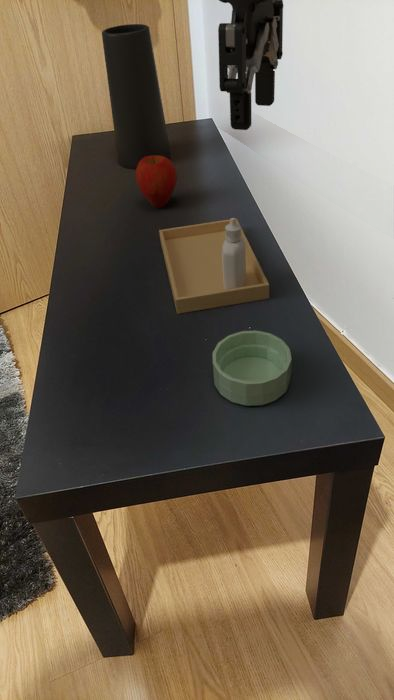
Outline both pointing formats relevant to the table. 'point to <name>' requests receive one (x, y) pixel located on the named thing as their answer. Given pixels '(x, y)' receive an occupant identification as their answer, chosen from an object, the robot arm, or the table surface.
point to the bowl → (252, 367)
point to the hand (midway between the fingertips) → (253, 116)
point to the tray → (207, 268)
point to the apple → (156, 179)
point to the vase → (134, 94)
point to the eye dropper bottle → (233, 257)
